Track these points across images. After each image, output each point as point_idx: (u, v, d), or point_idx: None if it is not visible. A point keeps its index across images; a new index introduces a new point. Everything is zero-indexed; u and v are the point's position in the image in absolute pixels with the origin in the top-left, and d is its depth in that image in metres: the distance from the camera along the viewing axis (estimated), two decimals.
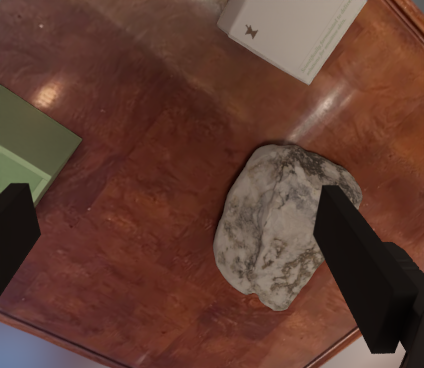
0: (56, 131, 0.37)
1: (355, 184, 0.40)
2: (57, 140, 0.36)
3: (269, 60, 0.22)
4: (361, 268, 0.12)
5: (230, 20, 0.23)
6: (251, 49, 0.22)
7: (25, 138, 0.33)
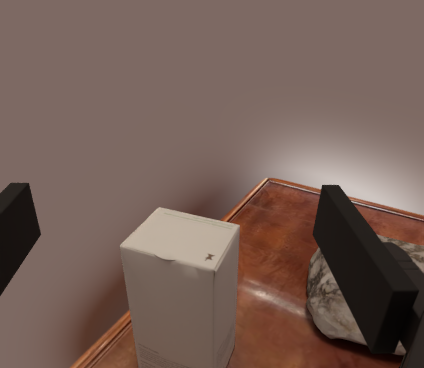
0: None
1: (317, 250, 0.47)
2: None
3: (228, 246, 0.27)
4: (361, 268, 0.12)
5: (204, 293, 0.26)
6: (222, 256, 0.26)
7: None
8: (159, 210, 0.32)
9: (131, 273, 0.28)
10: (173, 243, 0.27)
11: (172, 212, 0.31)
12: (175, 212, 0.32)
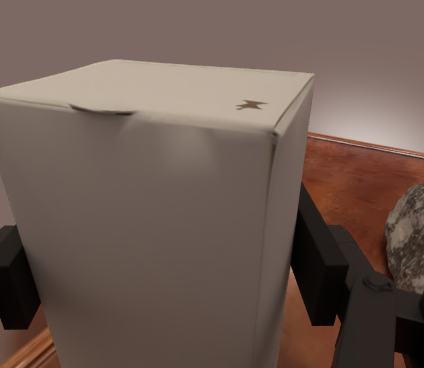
0: None
1: (397, 205, 0.28)
2: None
3: (300, 96, 0.09)
4: (306, 248, 0.13)
5: (231, 228, 0.08)
6: (292, 110, 0.08)
7: None
8: (114, 60, 0.13)
9: (19, 185, 0.10)
10: (136, 87, 0.09)
11: (145, 62, 0.13)
12: (152, 62, 0.13)
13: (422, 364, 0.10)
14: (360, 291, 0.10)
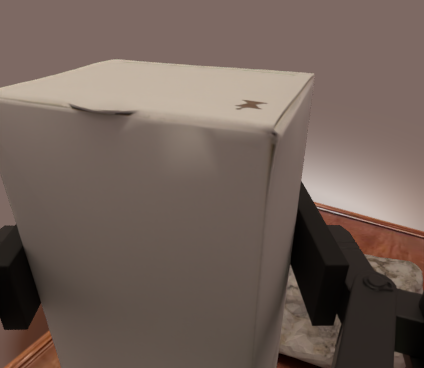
0: None
1: None
2: None
3: (300, 96, 0.09)
4: (306, 248, 0.13)
5: (231, 227, 0.08)
6: (291, 109, 0.08)
7: None
8: (114, 60, 0.14)
9: (18, 185, 0.10)
10: (136, 87, 0.09)
11: (145, 62, 0.13)
12: (152, 62, 0.13)
13: (422, 364, 0.10)
14: (360, 291, 0.10)
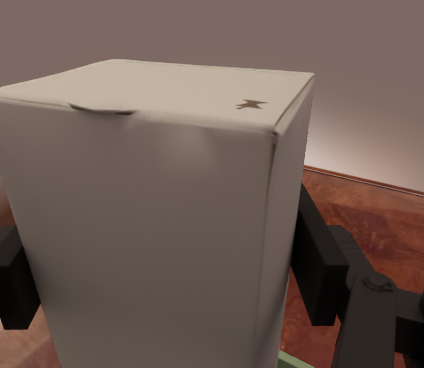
0: None
1: None
2: None
3: (300, 96, 0.09)
4: (306, 248, 0.13)
5: (231, 228, 0.08)
6: (292, 109, 0.08)
7: None
8: (114, 60, 0.13)
9: (18, 185, 0.10)
10: (136, 87, 0.09)
11: (145, 62, 0.13)
12: (152, 62, 0.13)
13: (422, 364, 0.10)
14: (360, 291, 0.10)
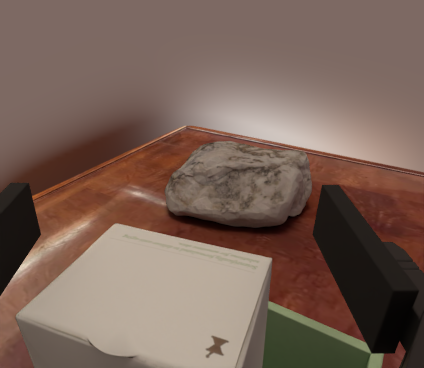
0: None
1: None
2: None
3: (255, 312, 0.12)
4: (361, 268, 0.12)
5: None
6: (246, 342, 0.11)
7: None
8: (114, 230, 0.17)
9: None
10: (135, 309, 0.12)
11: (139, 233, 0.17)
12: (145, 233, 0.17)
13: None
14: None
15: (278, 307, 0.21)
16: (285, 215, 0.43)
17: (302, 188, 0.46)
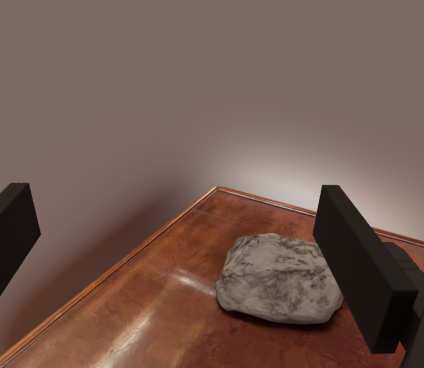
0: None
1: None
2: None
3: None
4: (361, 268, 0.12)
5: None
6: None
7: None
8: None
9: None
10: None
11: None
12: None
13: None
14: None
15: None
16: (330, 316, 0.48)
17: None
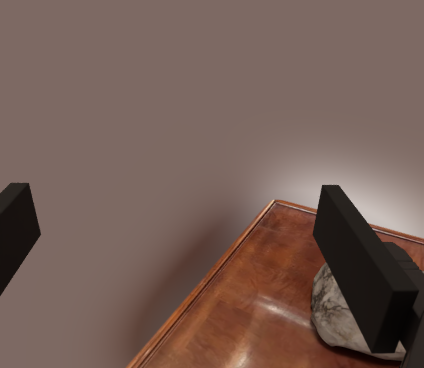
0: None
1: (320, 270, 0.56)
2: None
3: None
4: (361, 268, 0.12)
5: None
6: None
7: None
8: None
9: None
10: None
11: None
12: None
13: None
14: None
15: None
16: None
17: None
